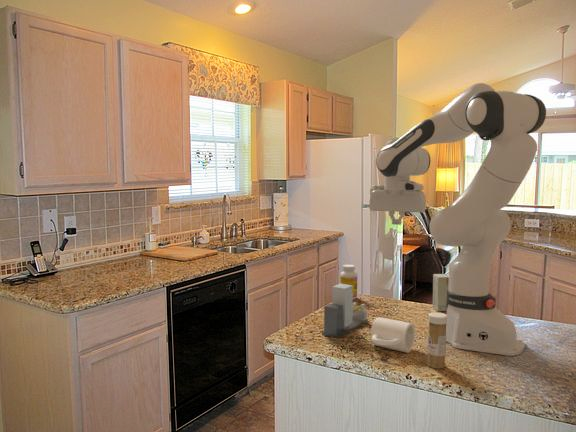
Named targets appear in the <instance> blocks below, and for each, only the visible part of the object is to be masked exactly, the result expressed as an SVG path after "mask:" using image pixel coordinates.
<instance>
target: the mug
mask: <svg viewBox="0 0 576 432" xmlns="http://www.w3.org/2000/svg"><path fill="white" fill-rule="evenodd" d="M414 325H415V324H413V323H412V322H406V321H401V320H395V319H391V318H385V317H379V316H378V317H376V318H375V319H374V321H373V322H372V326H371V329H370V341H371V344H372V345H374V346H377V347H381V348H385V349H389V350H395V351H397V352H402V353H410V352H411V351H412V350H413V347H414V343H415V341H416V340H415V339H416V329H415V326H414Z"/></svg>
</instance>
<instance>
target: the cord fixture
mask: <svg viewBox="0 0 576 432" xmlns="http://www.w3.org/2000/svg"><path fill="white" fill-rule="evenodd" d="M323 306H324V309H323V310H324V314H323V316H324V317H323V325H324V326H323V331H322V332H321V335H323V336H327V337H331V338H334V339H341V338H343V337H345V336H346V335H348V334H349V333H351V332H353V331H355V330H356V329H359V328H360V327H362V326H363V325H364V324H366V323H368V322H369V320H368V310H366V303H362V304H360V305H358V303H357V302H356V301H353V312H352V323H351V324H349V325H348V326H346V327H343V306H341V305H336V304H332V302H331V303H328V304H326V305H323Z"/></svg>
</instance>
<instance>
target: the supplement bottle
mask: <svg viewBox="0 0 576 432" xmlns="http://www.w3.org/2000/svg"><path fill="white" fill-rule="evenodd" d="M355 269H356V265H355V264H342V270H343V271H341V272H340V273H339V281H340V282H339V284H340V283H341V284H347V285H353V301H354V300H357V298H358V273H357V272H356V271H355Z"/></svg>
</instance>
